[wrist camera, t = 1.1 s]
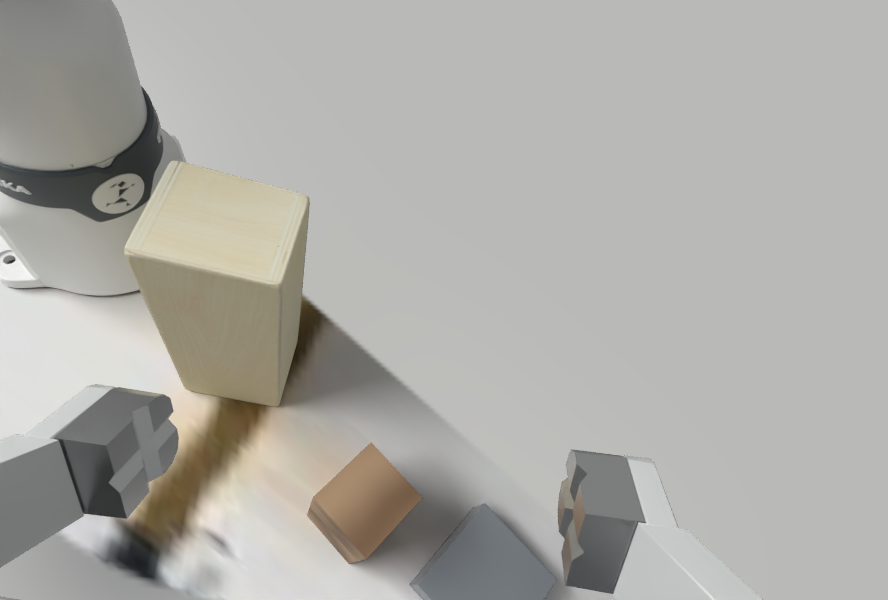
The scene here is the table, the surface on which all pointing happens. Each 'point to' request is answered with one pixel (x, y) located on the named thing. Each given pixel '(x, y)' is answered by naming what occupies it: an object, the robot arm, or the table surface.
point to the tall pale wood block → (223, 279)
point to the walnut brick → (362, 505)
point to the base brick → (483, 564)
